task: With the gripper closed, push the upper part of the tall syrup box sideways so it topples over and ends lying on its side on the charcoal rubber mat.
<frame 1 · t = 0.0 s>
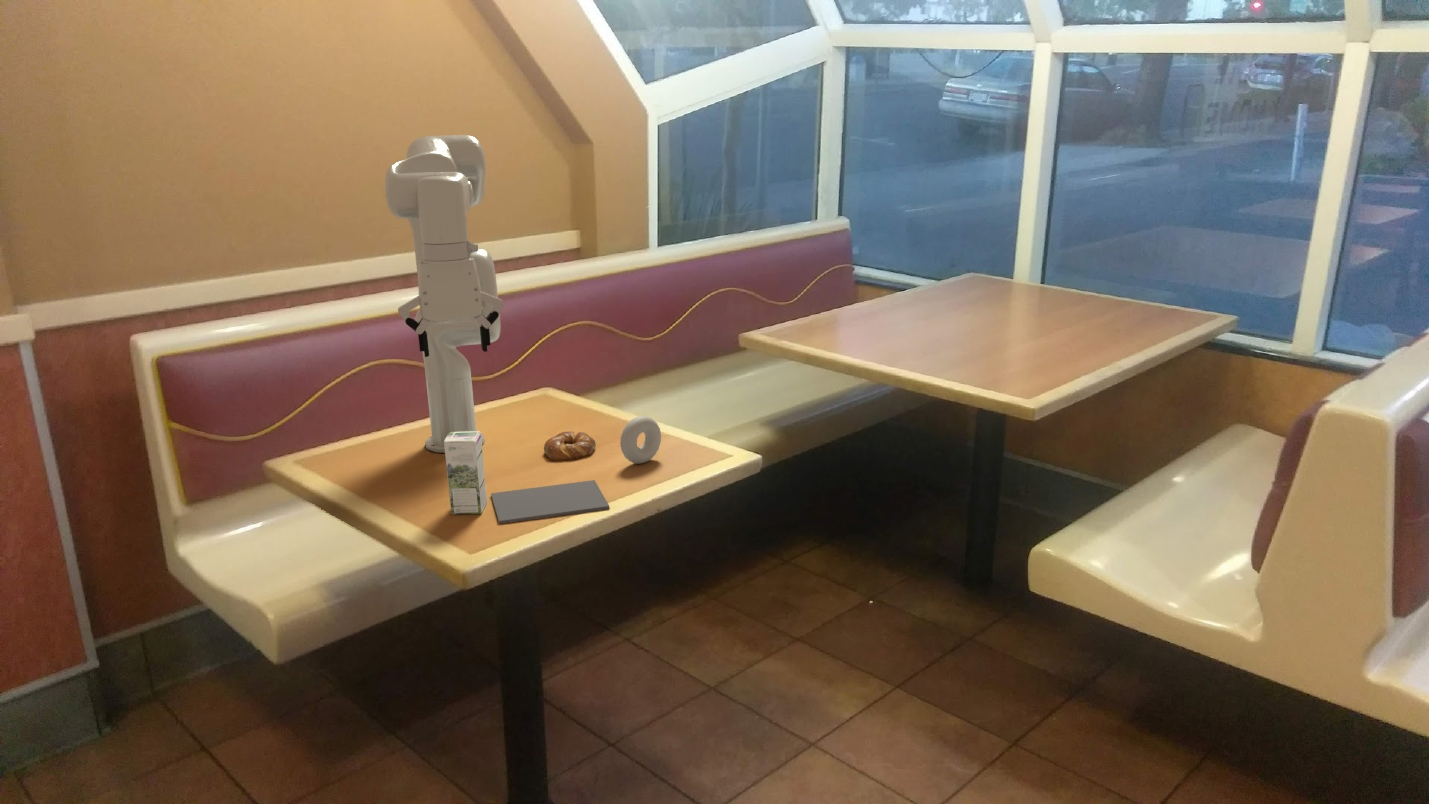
hand: (455, 352, 172), 31 cm above the table, fingers open, 9 cm apart
pretzel: (569, 454, 216), on the table
donut: (642, 463, 209), on the table
mat: (549, 502, 189), on the table
syrup box: (469, 510, 187), on the table
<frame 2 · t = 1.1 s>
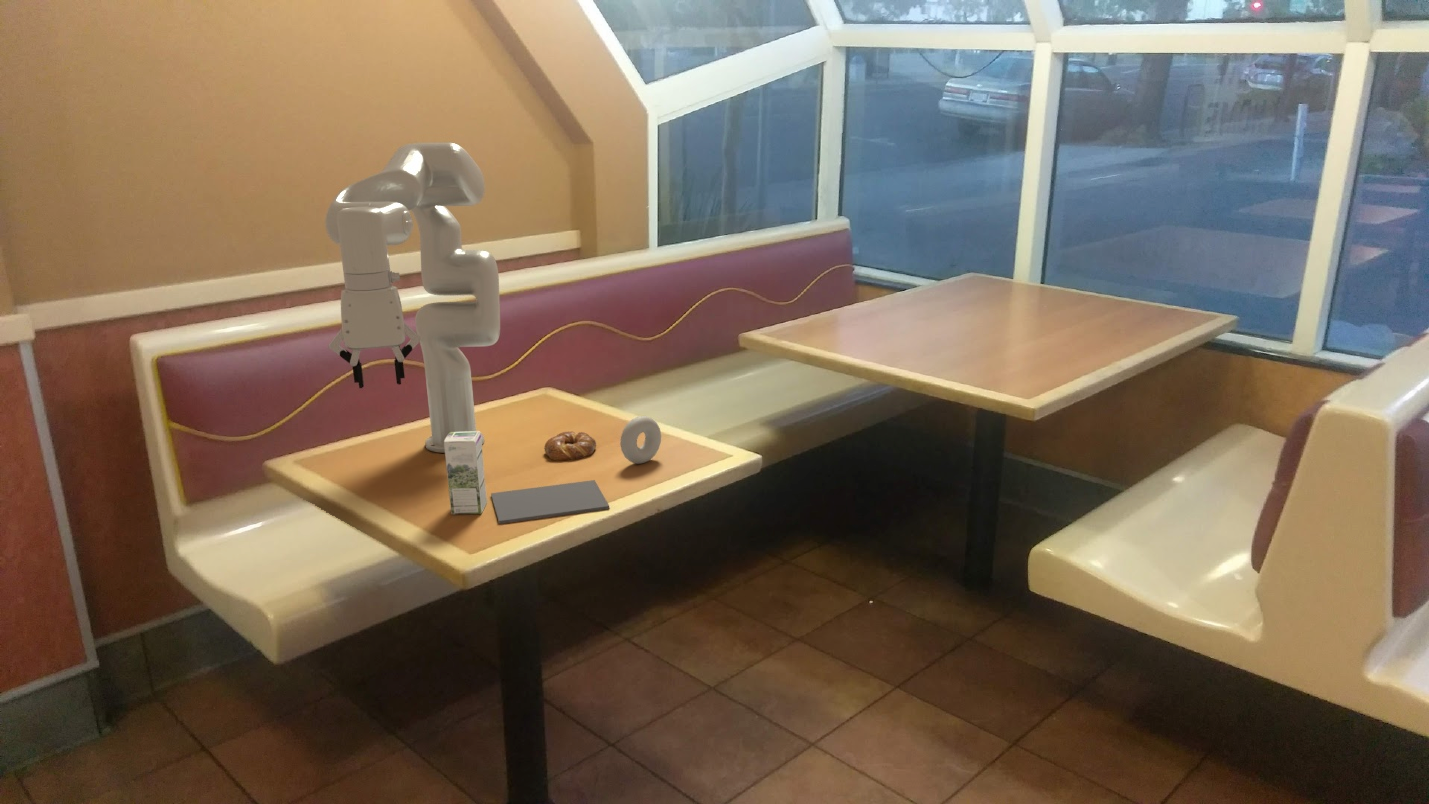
hand: (380, 383, 176), 25 cm above the table, fingers open, 5 cm apart
nothing on the table moved.
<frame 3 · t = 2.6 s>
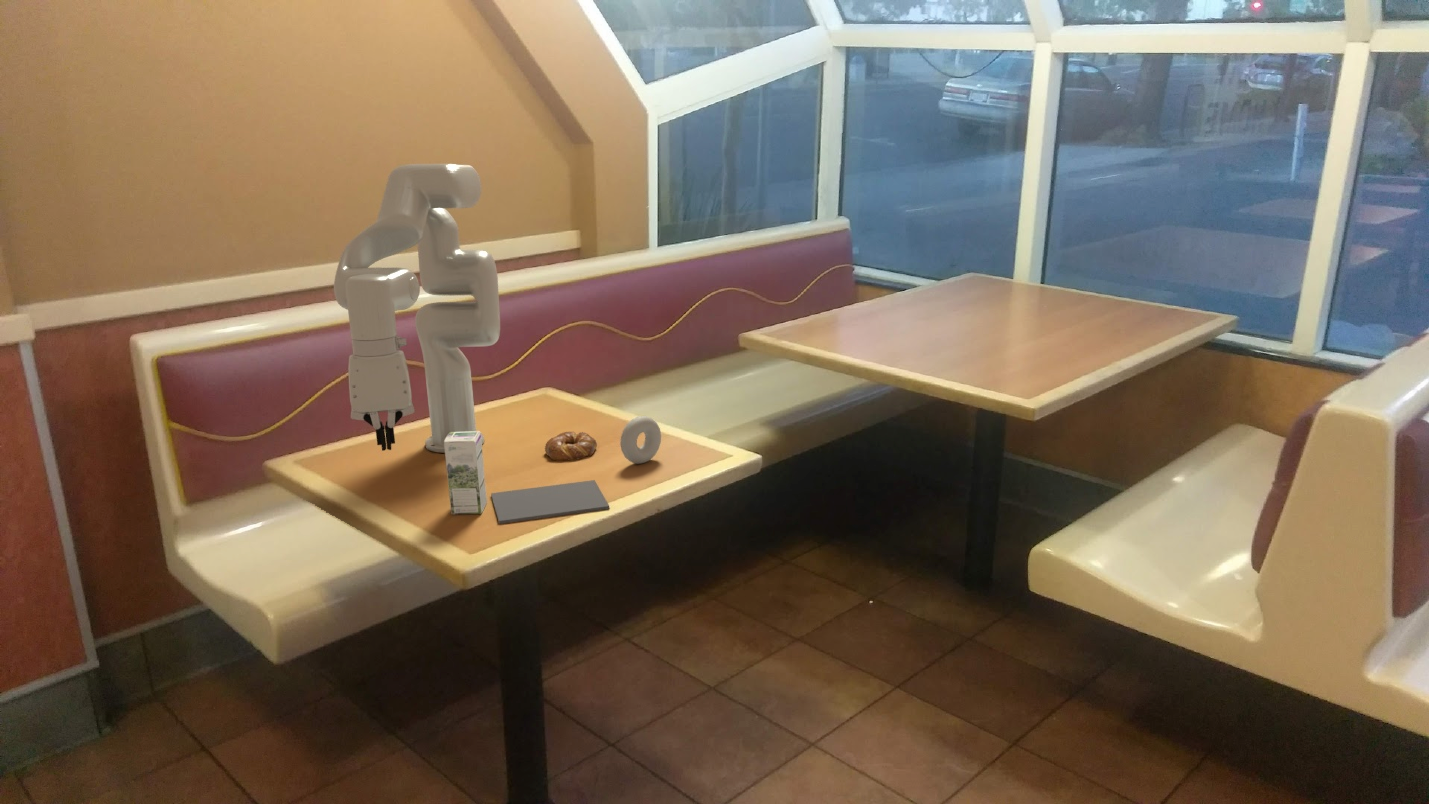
hand: (386, 447, 179), 14 cm above the table, fingers closed
nothing on the table moved.
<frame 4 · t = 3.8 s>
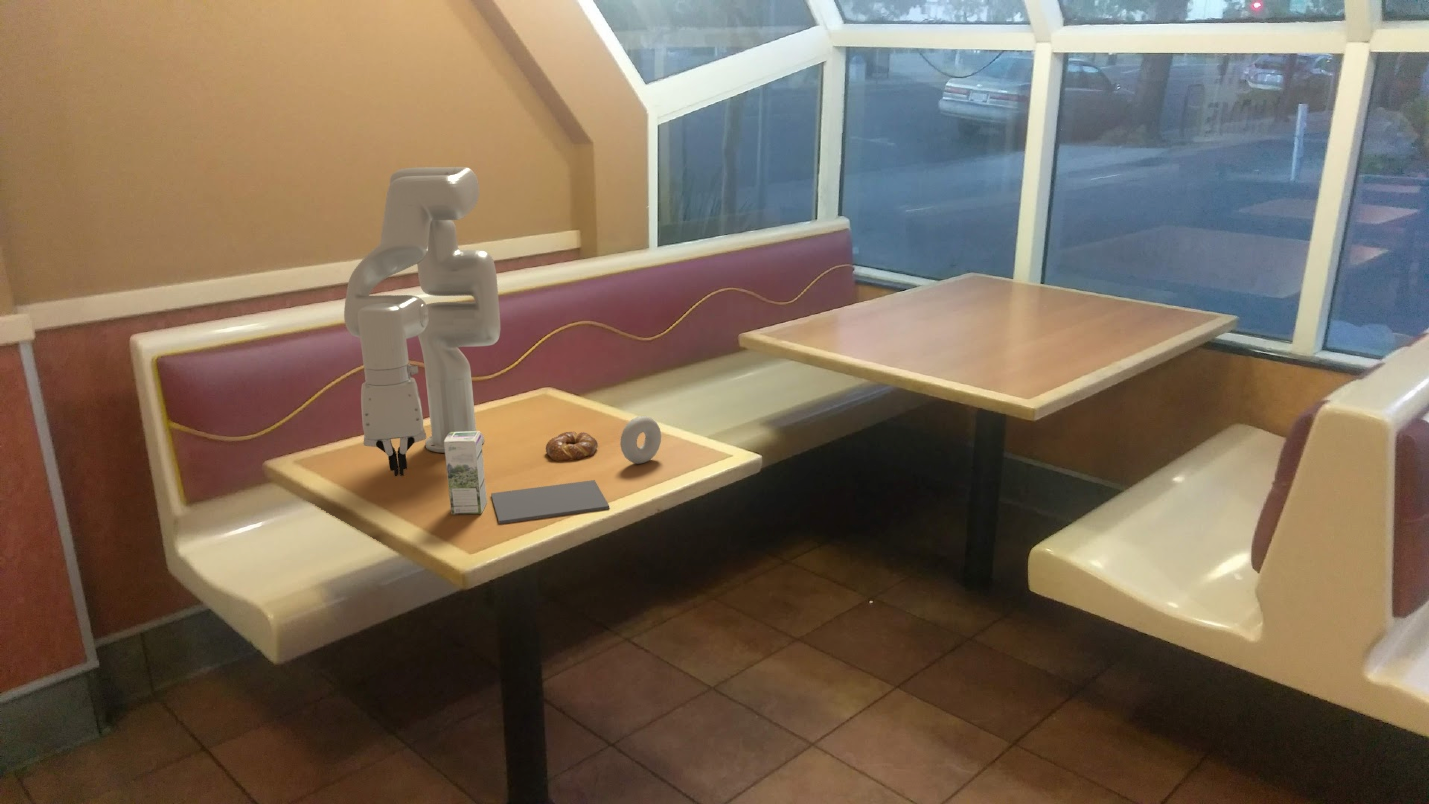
hand: (399, 473, 181), 9 cm above the table, fingers closed
nothing on the table moved.
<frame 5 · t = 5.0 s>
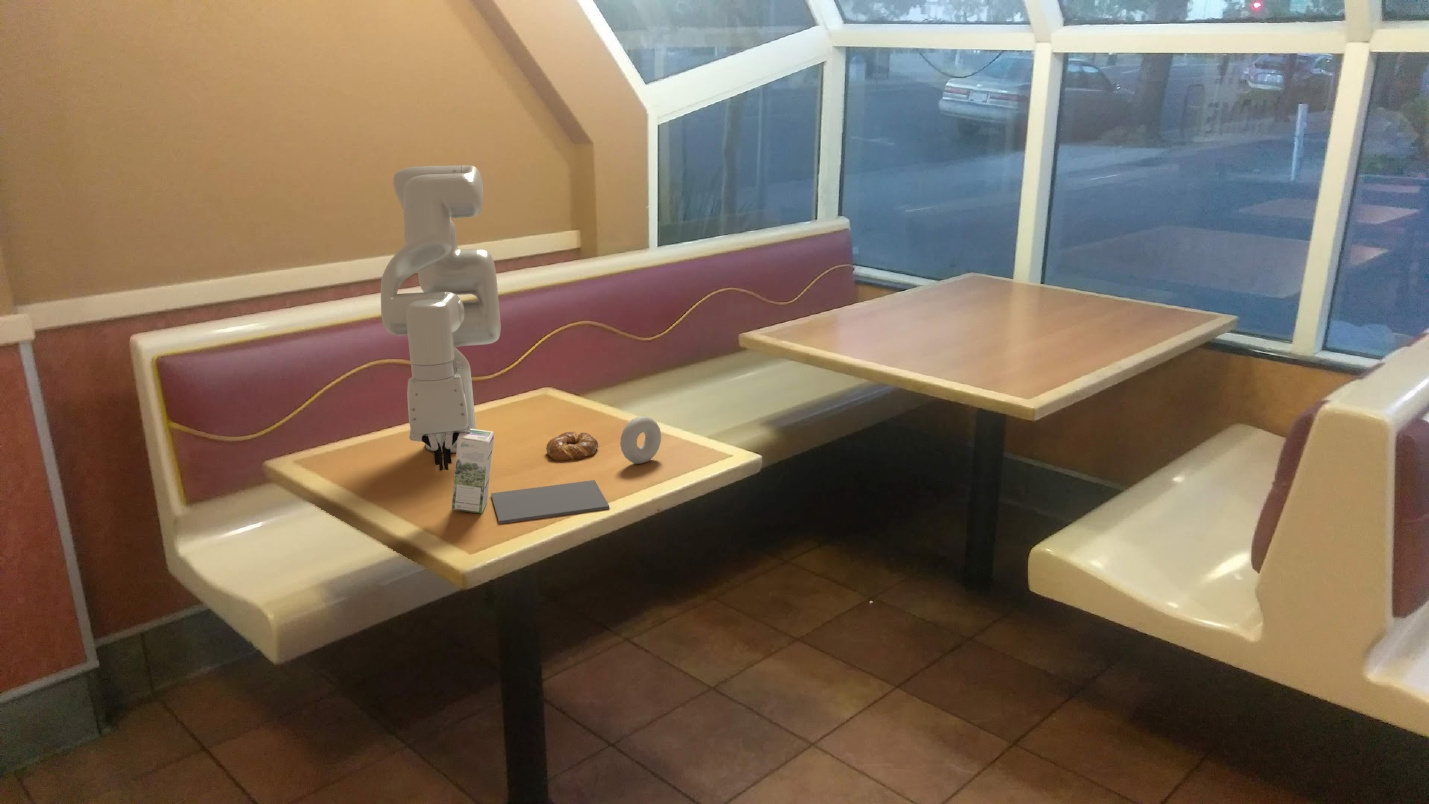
hand: (443, 467, 183), 9 cm above the table, fingers closed
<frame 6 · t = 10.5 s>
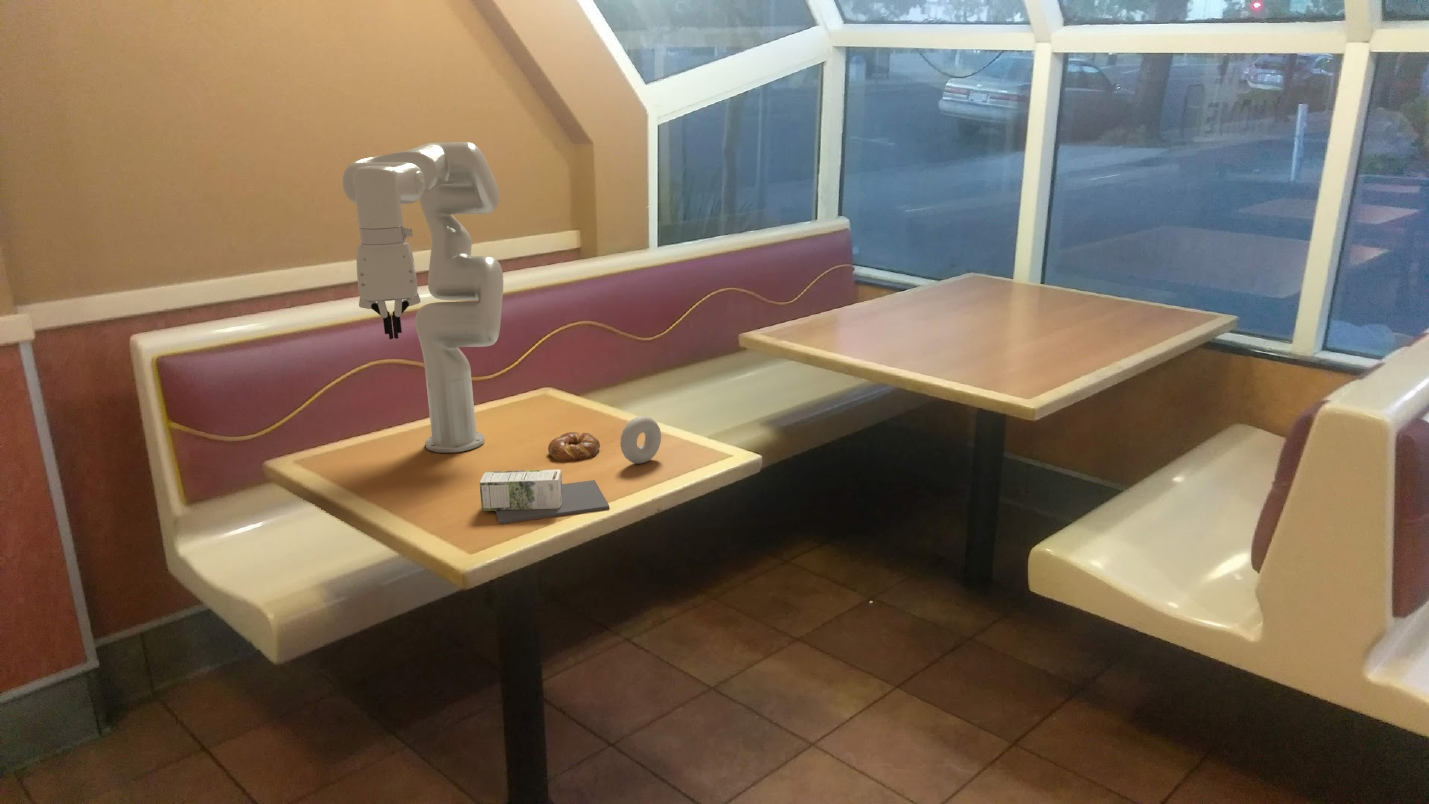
hand: (393, 337, 185), 31 cm above the table, fingers closed
syrup box: (481, 491, 186), point 3 cm above the table, touching mat
at the end: syrup box tilted 90°; syrup box touching mat; syrup box inside the target area (2.6 cm from its centre), point 3.4 cm above the table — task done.
